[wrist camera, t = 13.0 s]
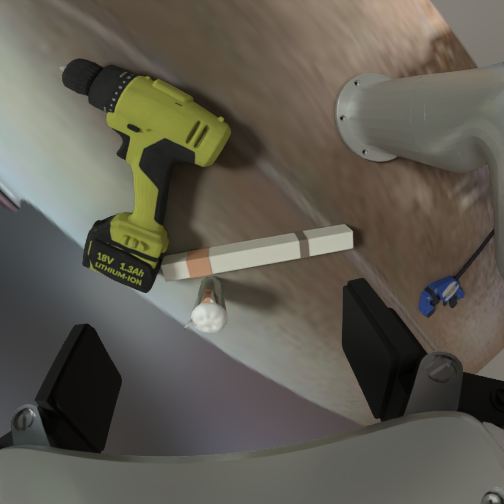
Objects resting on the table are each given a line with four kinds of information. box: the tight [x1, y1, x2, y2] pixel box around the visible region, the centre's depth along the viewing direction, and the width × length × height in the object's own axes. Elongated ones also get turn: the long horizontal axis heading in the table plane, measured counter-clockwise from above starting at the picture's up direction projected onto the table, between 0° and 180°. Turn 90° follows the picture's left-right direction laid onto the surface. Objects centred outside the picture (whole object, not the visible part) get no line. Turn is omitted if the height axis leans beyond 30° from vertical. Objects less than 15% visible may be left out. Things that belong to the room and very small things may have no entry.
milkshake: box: [184, 277, 228, 333], centre depth 39 cm, size 4×5×10 cm
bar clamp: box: [419, 229, 494, 318], centre depth 47 cm, size 32×2×10 cm
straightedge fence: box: [161, 224, 353, 282], centre depth 41 cm, size 26×3×3 cm, turn 99°
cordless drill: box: [60, 58, 231, 293], centre depth 33 cm, size 7×25×25 cm
